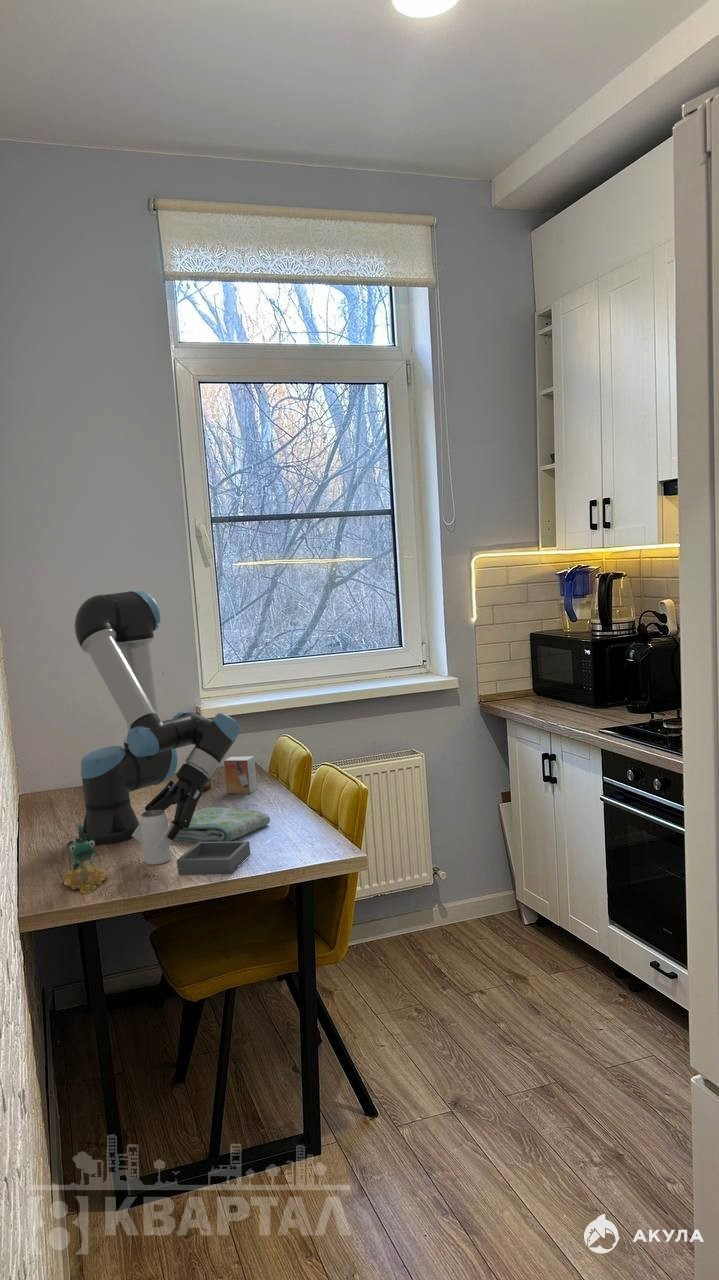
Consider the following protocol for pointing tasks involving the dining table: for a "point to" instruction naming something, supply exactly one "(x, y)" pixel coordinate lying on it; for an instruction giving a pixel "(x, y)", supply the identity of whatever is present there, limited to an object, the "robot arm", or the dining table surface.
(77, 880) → the frog figurine
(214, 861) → the tray
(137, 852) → the dining table surface
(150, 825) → the can
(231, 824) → the towel
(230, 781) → the small box
